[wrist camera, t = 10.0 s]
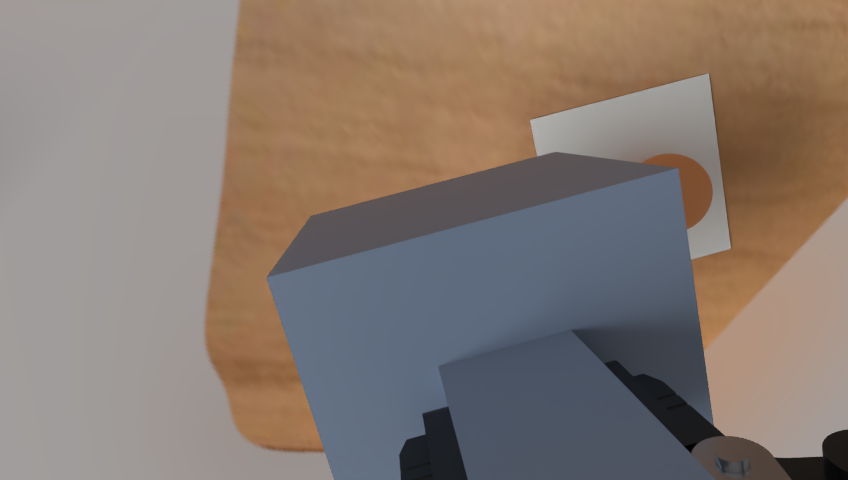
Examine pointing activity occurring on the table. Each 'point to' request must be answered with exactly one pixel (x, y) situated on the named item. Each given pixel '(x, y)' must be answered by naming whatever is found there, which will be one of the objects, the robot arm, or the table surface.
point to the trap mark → (649, 141)
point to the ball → (689, 185)
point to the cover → (501, 321)
